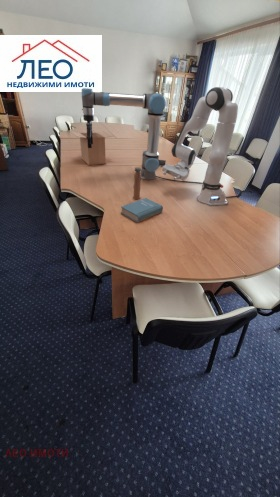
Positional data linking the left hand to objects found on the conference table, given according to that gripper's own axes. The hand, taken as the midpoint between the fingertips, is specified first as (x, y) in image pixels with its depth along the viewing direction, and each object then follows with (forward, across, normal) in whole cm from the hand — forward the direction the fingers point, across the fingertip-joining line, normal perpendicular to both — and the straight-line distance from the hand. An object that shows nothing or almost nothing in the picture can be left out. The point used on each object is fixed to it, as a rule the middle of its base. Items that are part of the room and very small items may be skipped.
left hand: (90, 146), depth 173 cm
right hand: (+12, +32, +58) cm, 67 cm away
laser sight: (+28, -53, +62) cm, 87 cm away
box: (+28, -60, -4) cm, 66 cm away
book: (+28, +59, +36) cm, 74 cm away
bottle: (+28, +34, +35) cm, 56 cm away
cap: (+6, +34, +35) cm, 49 cm away
